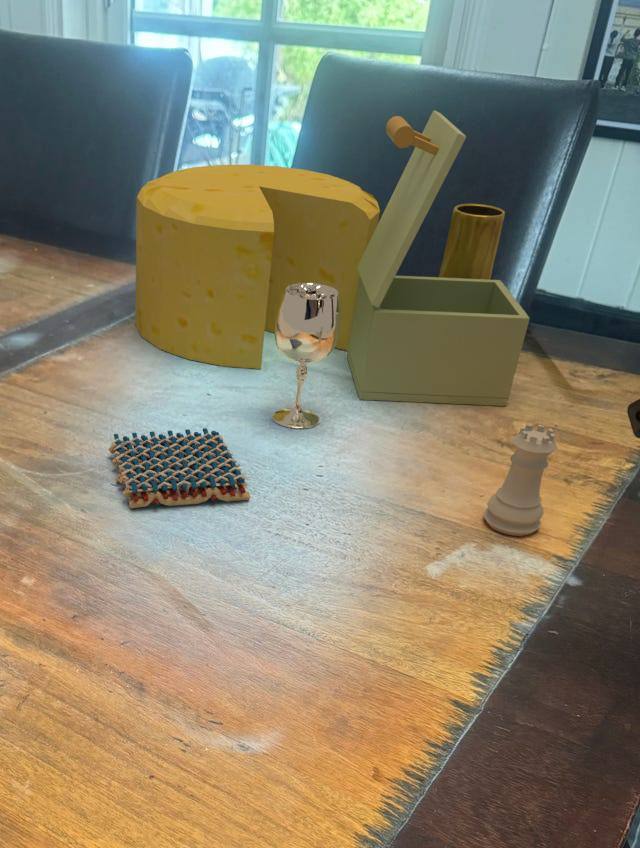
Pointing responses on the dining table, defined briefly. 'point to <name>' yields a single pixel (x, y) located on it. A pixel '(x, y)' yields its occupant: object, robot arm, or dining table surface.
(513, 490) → the rook chess piece
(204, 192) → the cheese
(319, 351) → the wineglass
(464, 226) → the vase
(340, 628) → the dining table surface
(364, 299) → the chest
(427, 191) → the lid
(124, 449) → the woven mat
